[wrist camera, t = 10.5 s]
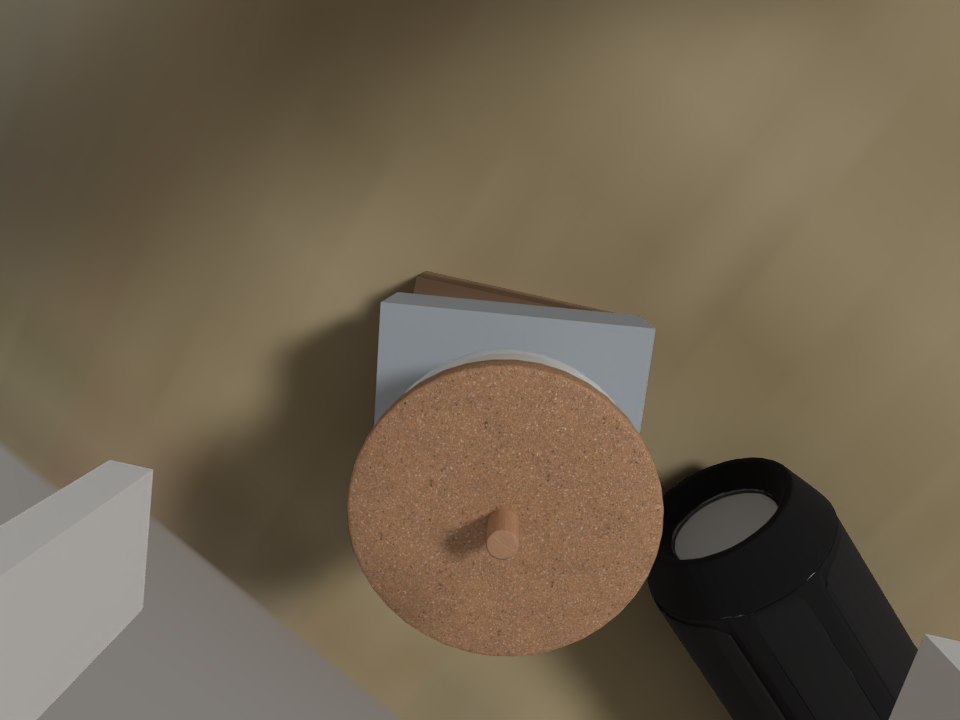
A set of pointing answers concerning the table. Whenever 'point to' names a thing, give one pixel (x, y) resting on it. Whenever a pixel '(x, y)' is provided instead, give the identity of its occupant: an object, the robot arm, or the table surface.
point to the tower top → (511, 343)
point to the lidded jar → (505, 505)
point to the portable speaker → (776, 598)
